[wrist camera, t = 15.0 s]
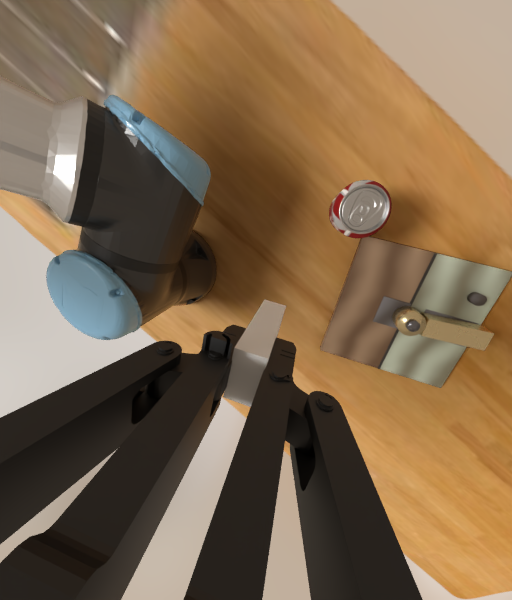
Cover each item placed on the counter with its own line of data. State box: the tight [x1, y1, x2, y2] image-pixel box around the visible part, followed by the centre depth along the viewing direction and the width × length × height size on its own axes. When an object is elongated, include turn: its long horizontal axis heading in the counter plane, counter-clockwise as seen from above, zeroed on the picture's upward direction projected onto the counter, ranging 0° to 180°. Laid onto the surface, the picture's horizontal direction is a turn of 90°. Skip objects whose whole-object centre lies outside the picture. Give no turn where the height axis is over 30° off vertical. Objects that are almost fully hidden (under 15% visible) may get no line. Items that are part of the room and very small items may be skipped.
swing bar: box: [392, 306, 494, 351], centre depth 39 cm, size 13×4×4 cm, turn 80°
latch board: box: [320, 236, 512, 388], centre depth 42 cm, size 22×22×3 cm
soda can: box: [329, 180, 391, 238], centre depth 34 cm, size 7×7×12 cm
